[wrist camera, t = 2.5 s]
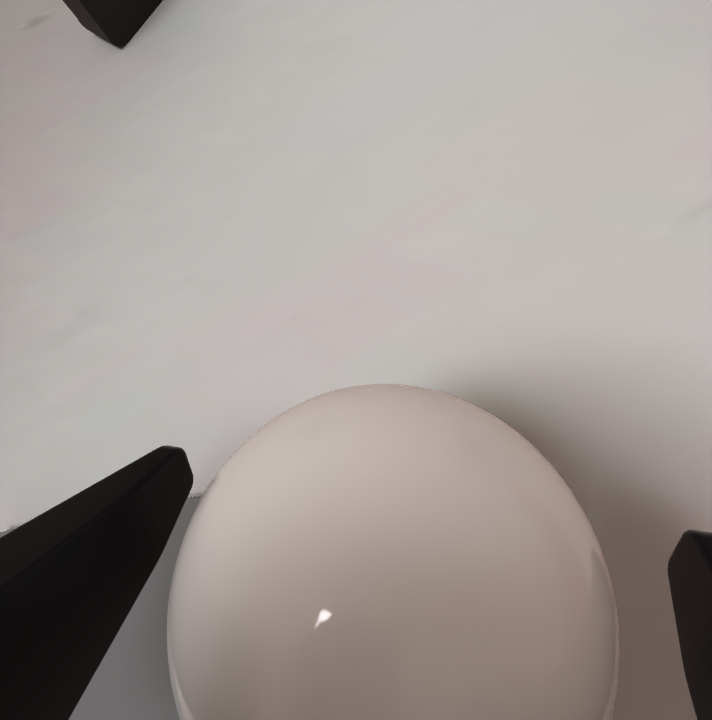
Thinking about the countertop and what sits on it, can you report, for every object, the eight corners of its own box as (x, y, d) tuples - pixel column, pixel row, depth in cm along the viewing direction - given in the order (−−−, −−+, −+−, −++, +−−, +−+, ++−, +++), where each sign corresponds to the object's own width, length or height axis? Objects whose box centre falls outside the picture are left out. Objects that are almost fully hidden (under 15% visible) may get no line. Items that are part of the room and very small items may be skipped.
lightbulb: (569, 513, 14) (932, 669, 3) (440, 682, 14) (390, 1443, 3) (404, 386, 16) (302, 231, 5) (288, 533, 15) (-66, 682, 5)
